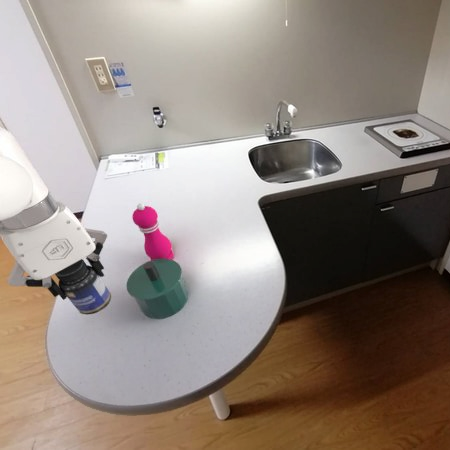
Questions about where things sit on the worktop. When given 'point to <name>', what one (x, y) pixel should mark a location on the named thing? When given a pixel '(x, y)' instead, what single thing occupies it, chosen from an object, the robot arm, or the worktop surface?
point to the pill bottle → (84, 287)
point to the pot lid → (154, 279)
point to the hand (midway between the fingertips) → (81, 283)
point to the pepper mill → (152, 233)
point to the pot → (165, 303)
